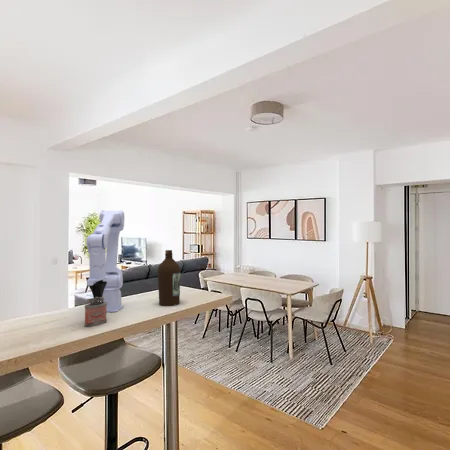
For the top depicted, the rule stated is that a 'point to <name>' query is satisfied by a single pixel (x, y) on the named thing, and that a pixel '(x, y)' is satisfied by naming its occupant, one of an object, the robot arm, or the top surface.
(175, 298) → the olive oil
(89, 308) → the lighter
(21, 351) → the top surface
